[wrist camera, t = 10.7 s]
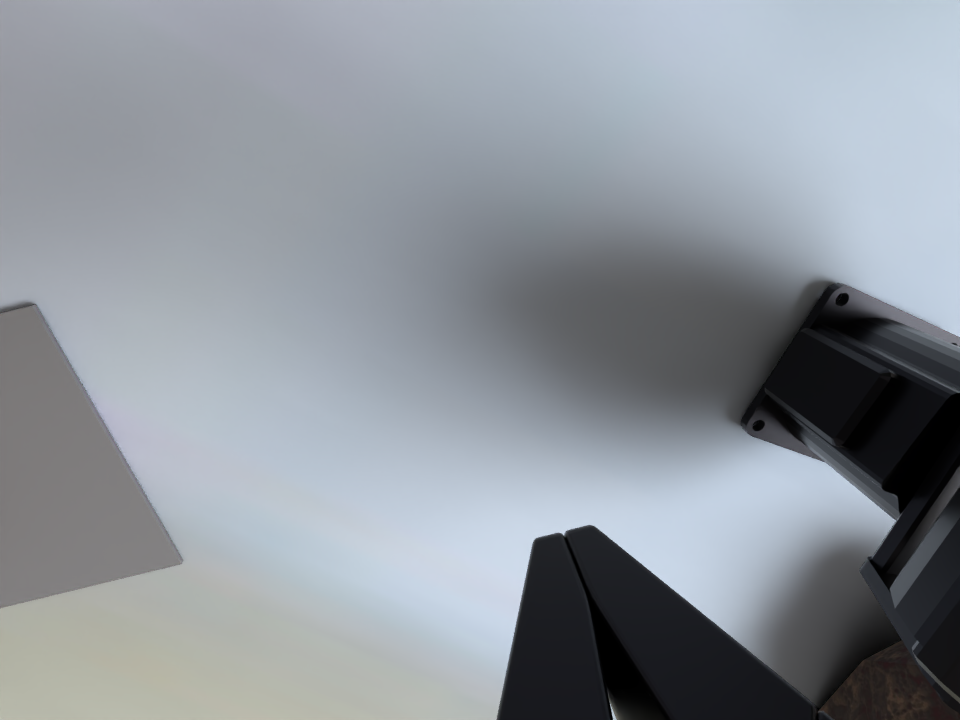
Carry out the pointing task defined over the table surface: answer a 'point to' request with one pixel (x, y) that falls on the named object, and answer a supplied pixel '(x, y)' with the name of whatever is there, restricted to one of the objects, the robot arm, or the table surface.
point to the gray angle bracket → (63, 478)
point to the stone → (888, 691)
